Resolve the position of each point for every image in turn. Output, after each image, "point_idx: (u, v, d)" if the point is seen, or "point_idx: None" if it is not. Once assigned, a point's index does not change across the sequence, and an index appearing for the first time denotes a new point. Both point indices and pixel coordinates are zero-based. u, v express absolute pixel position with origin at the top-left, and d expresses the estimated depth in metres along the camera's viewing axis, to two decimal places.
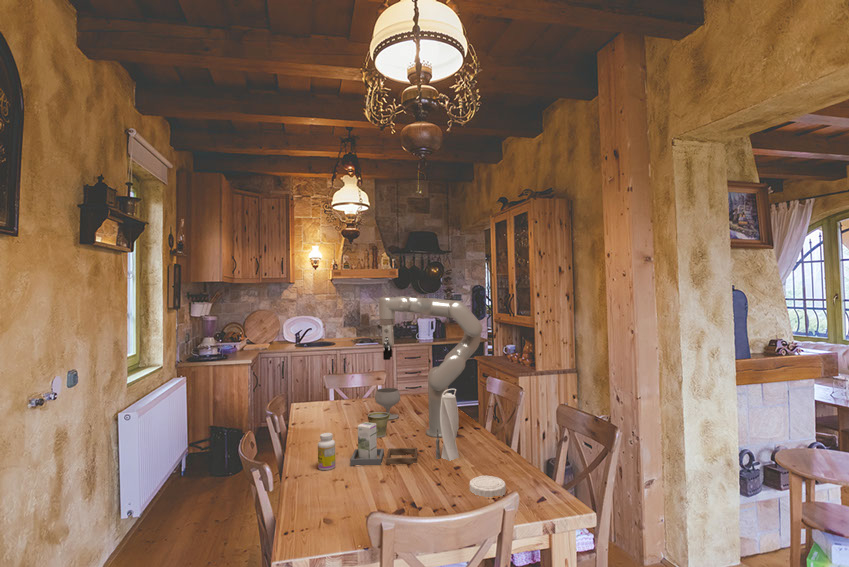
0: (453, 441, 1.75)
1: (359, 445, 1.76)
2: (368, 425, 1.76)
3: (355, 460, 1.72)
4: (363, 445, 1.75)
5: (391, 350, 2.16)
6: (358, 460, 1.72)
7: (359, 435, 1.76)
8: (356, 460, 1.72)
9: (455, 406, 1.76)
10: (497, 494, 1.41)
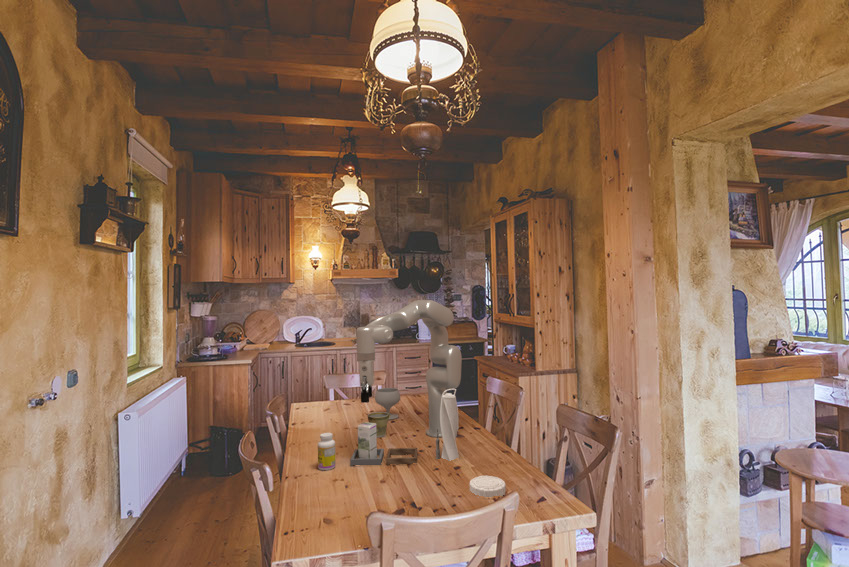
0: (453, 441, 1.75)
1: (359, 445, 1.76)
2: (368, 425, 1.76)
3: (355, 460, 1.72)
4: (363, 445, 1.75)
5: (371, 389, 1.83)
6: (358, 460, 1.72)
7: (359, 435, 1.76)
8: (356, 460, 1.72)
9: (455, 406, 1.76)
10: (497, 494, 1.41)
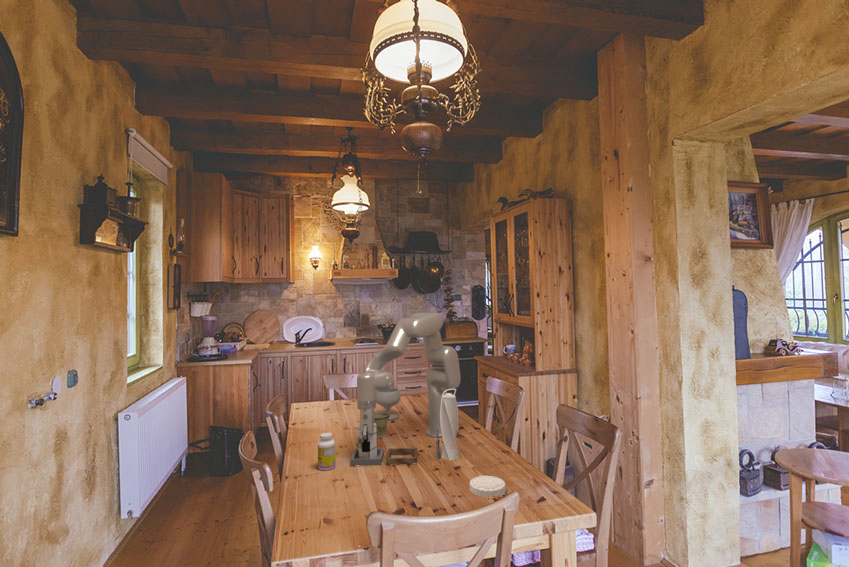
0: (453, 441, 1.75)
1: (359, 445, 1.76)
2: None
3: (355, 460, 1.72)
4: None
5: None
6: (358, 460, 1.72)
7: (359, 435, 1.76)
8: (356, 460, 1.72)
9: (455, 406, 1.76)
10: (497, 494, 1.41)
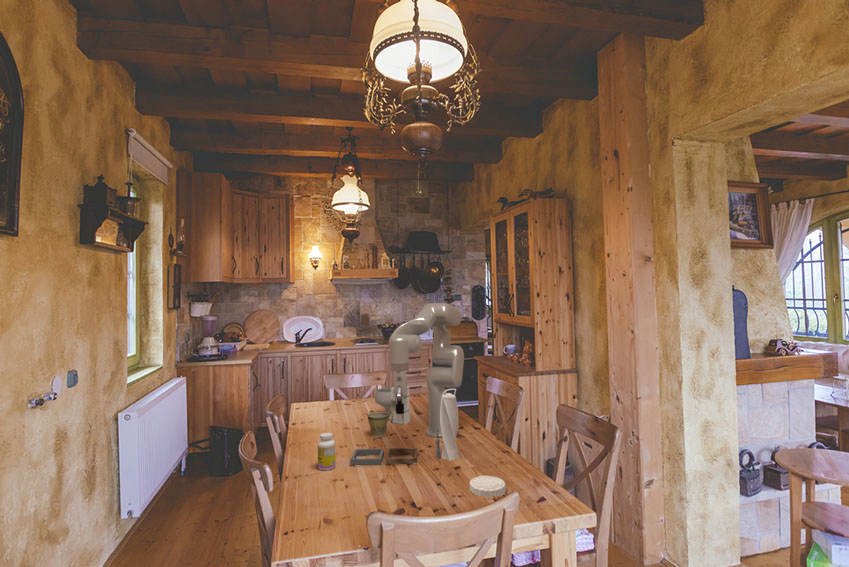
0: (453, 441, 1.75)
1: (392, 408, 1.77)
2: None
3: (355, 460, 1.72)
4: None
5: None
6: (358, 460, 1.72)
7: (392, 397, 1.77)
8: (356, 460, 1.72)
9: (455, 406, 1.76)
10: (497, 494, 1.41)
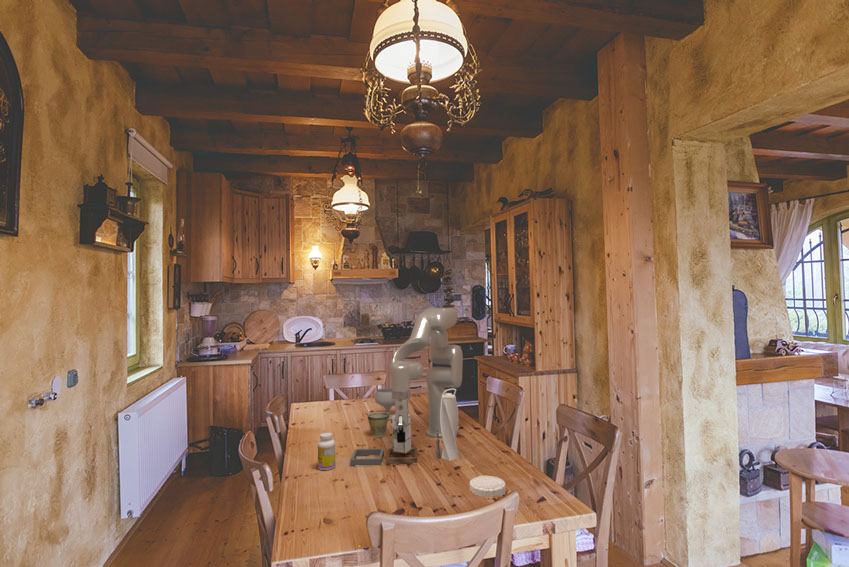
0: (453, 441, 1.75)
1: (393, 436, 1.76)
2: None
3: (355, 460, 1.72)
4: None
5: None
6: (358, 460, 1.72)
7: (394, 426, 1.76)
8: (356, 460, 1.72)
9: (455, 406, 1.76)
10: (497, 494, 1.41)
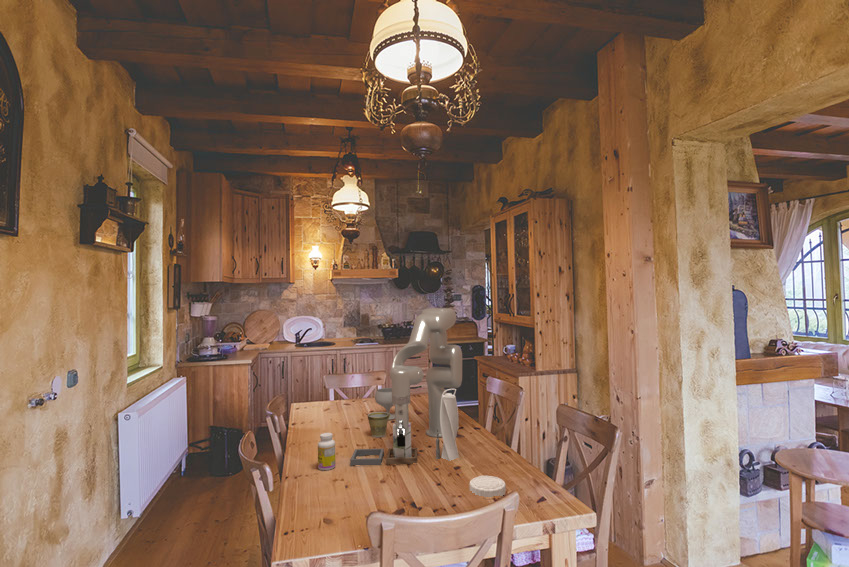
0: (453, 441, 1.75)
1: (394, 445, 1.76)
2: None
3: (355, 460, 1.72)
4: None
5: None
6: (358, 460, 1.72)
7: (394, 434, 1.76)
8: (356, 460, 1.72)
9: (455, 406, 1.76)
10: (497, 494, 1.41)
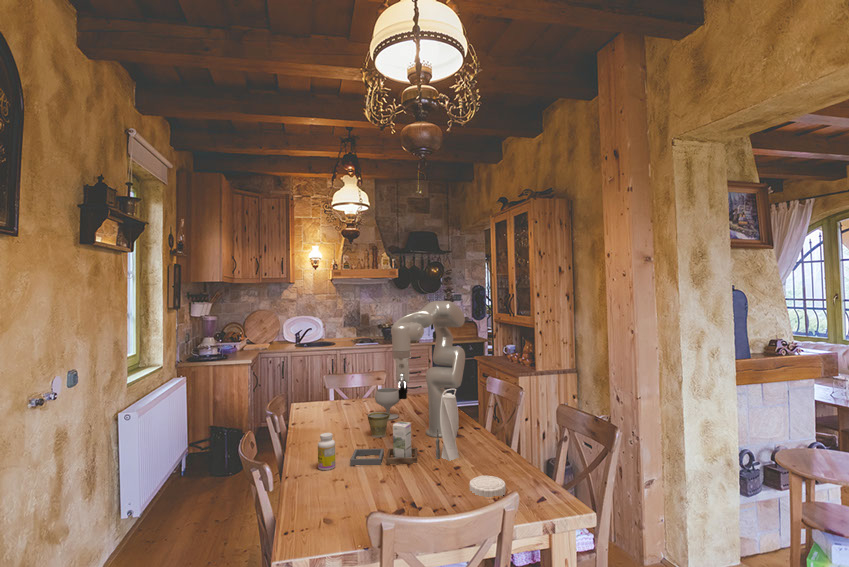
0: (453, 441, 1.75)
1: (394, 445, 1.76)
2: (403, 424, 1.77)
3: (355, 460, 1.72)
4: (398, 444, 1.75)
5: (406, 385, 1.86)
6: (358, 460, 1.72)
7: (394, 434, 1.76)
8: (356, 460, 1.72)
9: (455, 406, 1.76)
10: (497, 494, 1.41)
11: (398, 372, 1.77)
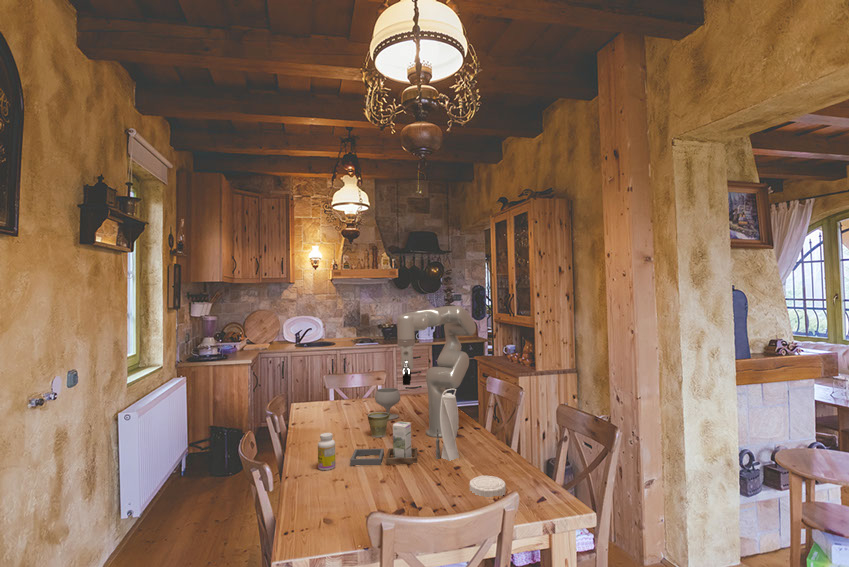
0: (453, 441, 1.75)
1: (394, 445, 1.76)
2: (403, 424, 1.77)
3: (355, 460, 1.72)
4: (398, 444, 1.75)
5: (410, 373, 1.96)
6: (358, 460, 1.72)
7: (394, 434, 1.76)
8: (356, 460, 1.72)
9: (455, 406, 1.76)
10: (497, 494, 1.41)
11: (402, 359, 1.87)
